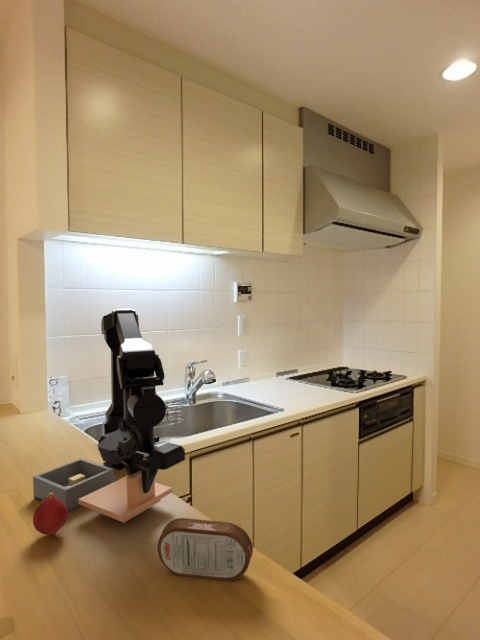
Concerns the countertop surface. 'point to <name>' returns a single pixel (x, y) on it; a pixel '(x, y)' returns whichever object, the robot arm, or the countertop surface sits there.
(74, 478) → the tub
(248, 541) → the tin
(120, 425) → the robot arm
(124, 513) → the lid
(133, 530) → the countertop surface
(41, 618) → the countertop surface
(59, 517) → the onion
